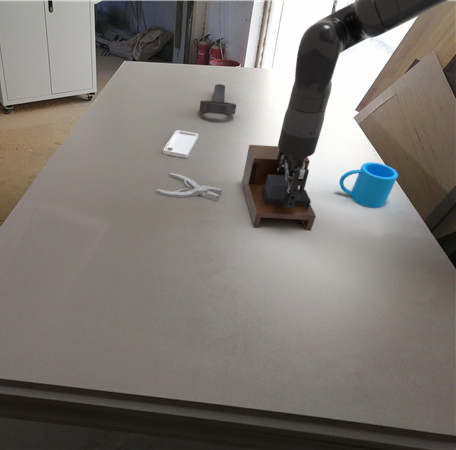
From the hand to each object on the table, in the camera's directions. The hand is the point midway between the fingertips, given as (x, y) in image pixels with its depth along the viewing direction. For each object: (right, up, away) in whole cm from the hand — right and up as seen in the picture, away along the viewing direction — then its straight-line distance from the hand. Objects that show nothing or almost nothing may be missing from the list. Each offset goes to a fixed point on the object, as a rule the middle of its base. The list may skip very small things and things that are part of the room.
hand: (283, 196), depth 91 cm
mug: (+23, 0, +12) cm, 26 cm away
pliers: (-20, +2, +11) cm, 23 cm away
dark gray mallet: (-6, +37, +57) cm, 68 cm away
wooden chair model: (0, -1, +7) cm, 7 cm away
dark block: (+1, -1, +2) cm, 2 cm away
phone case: (-21, +17, +30) cm, 41 cm away
